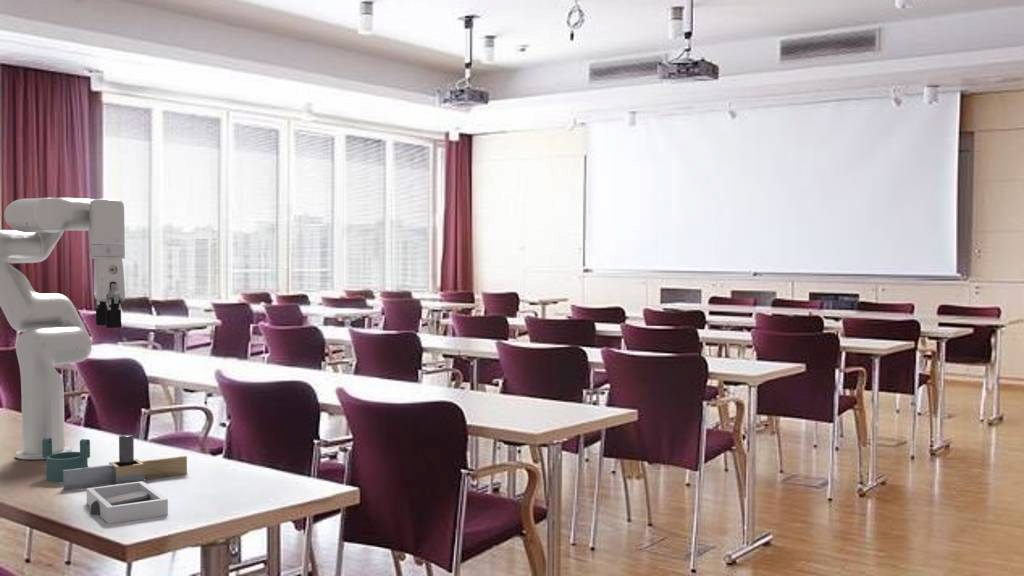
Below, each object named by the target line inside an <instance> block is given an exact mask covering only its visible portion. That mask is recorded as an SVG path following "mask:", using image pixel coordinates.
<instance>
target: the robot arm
mask: <svg viewBox="0 0 1024 576" xmlns="http://www.w3.org/2000/svg"><path fill="white" fill-rule="evenodd" d="M3 214H4V221H5V223H6V225H8V226H9V228H11V229H0V308H1V311H2V313H3V314H4V316H5V318H6V320H7V322H8V324H9V325H10V327H11V328H12V329H13V330H14V331H16V332H21V333H20V334H19V336H18V337H17V338H16V341H15V354H16V356H17V360H18V361H17V362H18V365H19V373H20V388H21V389H20V392H21V430H22V431H21V433H22V434H21V435H22V436H21V437H22V441H21V442H22V449H19V450H17V451H15V458H17V459H19V460H26V461H27V460H28V461H30V460H32V461H33V460H35V461H37V460H39V461H40V460H46V459H45V458H44V457H43V452H42V440H43V438H51V439H52V454H55V453H62V452H73V451H72V447H70V446H69V445H68V446H67V445H66V443H65V437H66V436H65V435H66V433H65V432H66V431H65V388H64V387H65V386H64V381H63V378H62V377H61V375H60V374H59V372H58V371H57V369H56V368H55V366H58V365H60V366H61V365H68V364H75V363H81V362H83V361H85V360H86V359H87V358H89V356H90V355H91V352H92V339H91V336H90V335H89V332H88V330H87V328H86V326H85V324H84V322H83V320H82V318H81V316H80V315H79V313H78V311H77V309H76V307H75V305H74V304H73V302H72V300H71V299H70V298H69V297H68V296H66V295H64V294H62V293H57V292H52V293H51V292H50V293H48V292H47V293H46V292H45V293H42V292H41V293H40V292H36V291H35V289H34V288H33V287H32V284H31V283H30V281H29V279H28V277H26V275H25V274H24V273H22V272H21V271H20V270H19V269H17V268H16V267H14V266H13V265H11V264H35V263H42V262H43V261H45V260H47V258H48V257H49V256H50V254H51V253H53V250H54V249H55V247H56V245H57V243H58V242H59V240H60V239H61V237H62V236H63V234H64V232H65V231H77V232H78V231H85V232H89V233H88V234H89V259H92V260H93V259H94V262H93V263H94V264H93V294H94V299H95V300H96V302H95V323H96V326H105V327H106V328H107V329H117V328H119V329H120V328H121V327H122V306H121V302H124V301H125V300H126V288H125V273H124V264H123V263H124V262H123V259H126V253H125V252H126V245H125V243H126V241H125V235H126V233H125V204H124V202H123V201H122V200H120V199H117V198H79V197H76V198H75V197H40V198H38V197H37V198H34V197H33V198H20V199H16V200H13V201H12V202H10V203H9V204H8V205H7V206H6V208H5V210H4V213H3Z"/></svg>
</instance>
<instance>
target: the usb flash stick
mask: <svg viewBox="0 0 1024 576" xmlns="http://www.w3.org/2000/svg"><path fill="white" fill-rule="evenodd" d="M105 500H106V501H107V502H108V503H110V504H111V505H112V506H114V505H121V504H129V503H136V502H143V501H150V496H149V494H148V493H145V492H141V491H137V492H133V493H129V494H124V495H119V496H115V497H110V498H105ZM90 514H92V515H96V516H99V517H101V516H100V505H99V503H98V501H97V500H96V501H94V502H93V503H92V504H91V507H90Z"/></svg>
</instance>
